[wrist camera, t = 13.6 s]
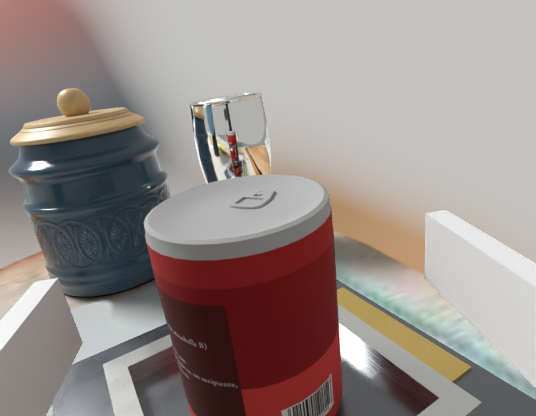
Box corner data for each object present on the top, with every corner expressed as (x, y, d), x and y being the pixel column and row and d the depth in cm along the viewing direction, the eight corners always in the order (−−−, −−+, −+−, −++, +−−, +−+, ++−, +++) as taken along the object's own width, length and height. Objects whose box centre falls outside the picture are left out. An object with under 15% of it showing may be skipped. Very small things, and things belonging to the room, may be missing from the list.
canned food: (346, 349, 22) (336, 169, 18) (339, 491, 15) (319, 242, 11) (225, 341, 24) (192, 177, 20) (166, 463, 17) (98, 243, 13)
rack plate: (96, 1043, 7) (59, 1024, 6) (56, 385, 24) (44, 358, 23) (589, 451, 16) (598, 413, 15) (309, 272, 33) (306, 250, 32)
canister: (203, 235, 43) (169, 75, 37) (146, 302, 32) (83, 84, 25) (106, 238, 46) (60, 90, 40) (22, 299, 35) (-61, 105, 29)
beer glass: (247, 269, 35) (218, 102, 29) (203, 250, 39) (172, 105, 34) (296, 239, 39) (279, 90, 34) (251, 226, 44) (230, 94, 39)
